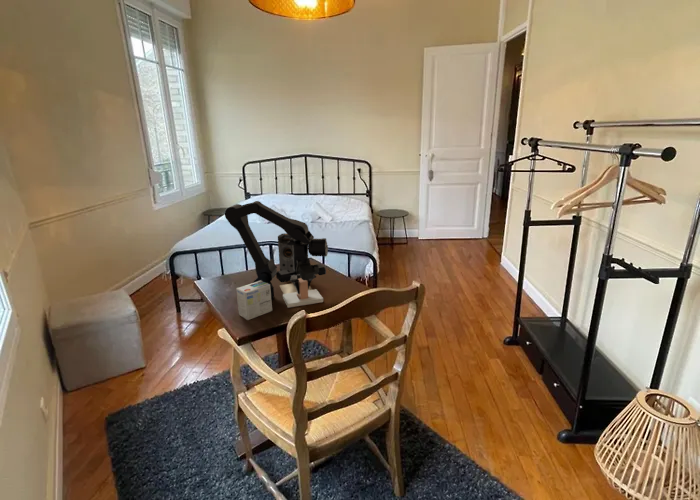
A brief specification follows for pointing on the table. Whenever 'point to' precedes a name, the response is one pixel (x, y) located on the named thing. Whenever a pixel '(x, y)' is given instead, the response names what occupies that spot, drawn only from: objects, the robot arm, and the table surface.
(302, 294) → the plug
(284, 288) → the pad
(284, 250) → the electronic device
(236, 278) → the table surface
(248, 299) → the light bulb box
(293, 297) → the white slotted plate
